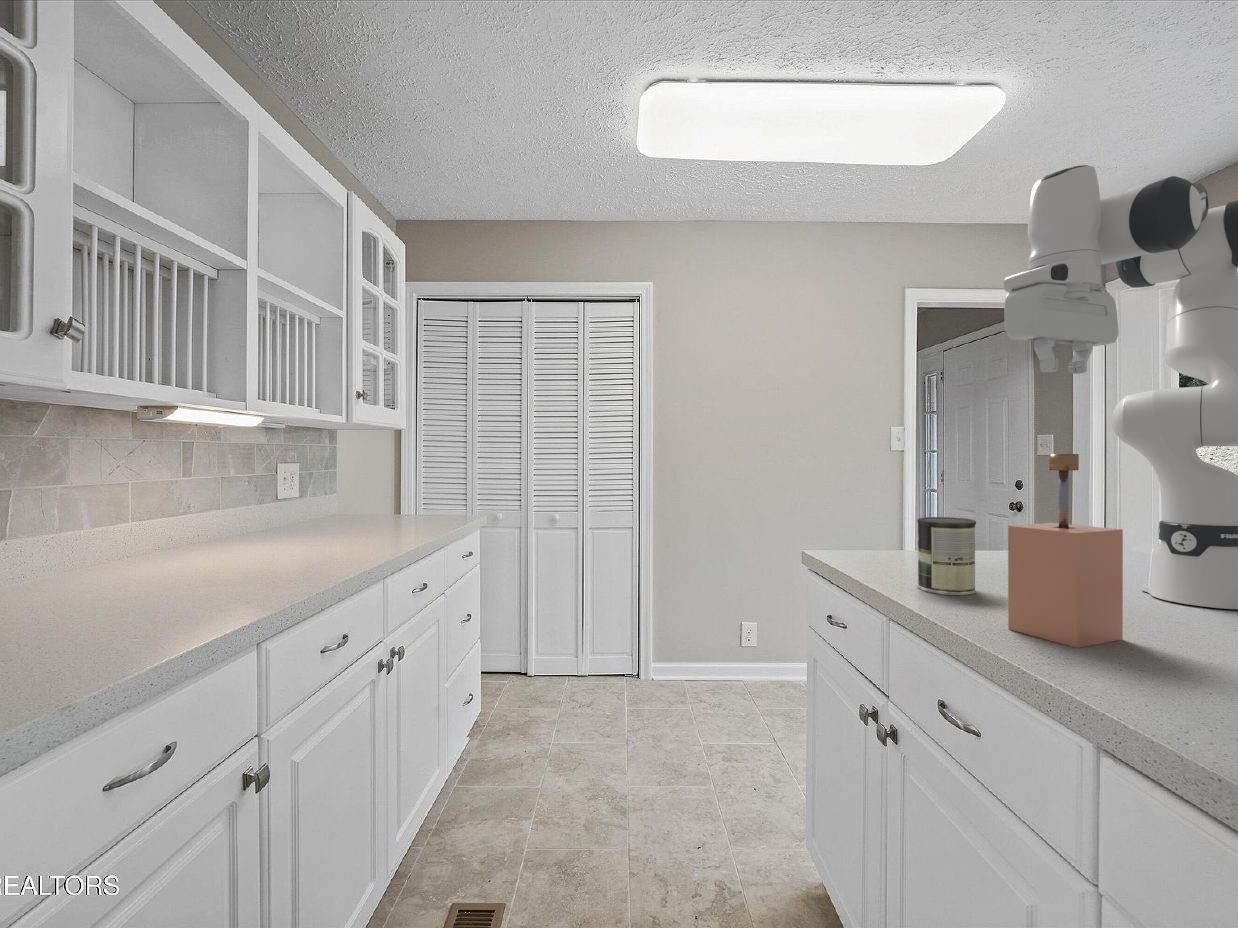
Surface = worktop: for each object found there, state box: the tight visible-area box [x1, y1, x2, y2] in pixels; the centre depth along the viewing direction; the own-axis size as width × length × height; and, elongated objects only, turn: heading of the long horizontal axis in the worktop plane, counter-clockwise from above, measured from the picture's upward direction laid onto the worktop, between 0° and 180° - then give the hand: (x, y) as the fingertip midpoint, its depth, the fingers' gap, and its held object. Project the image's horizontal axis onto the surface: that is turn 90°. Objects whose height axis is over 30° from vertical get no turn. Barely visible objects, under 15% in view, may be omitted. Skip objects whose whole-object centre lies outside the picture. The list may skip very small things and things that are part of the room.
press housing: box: [1007, 522, 1124, 649], centre depth 91 cm, size 10×10×16 cm
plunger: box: [1048, 453, 1080, 529], centre depth 91 cm, size 8×8×13 cm
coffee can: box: [916, 516, 977, 596], centre depth 122 cm, size 10×10×14 cm
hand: (1063, 372), depth 91 cm, fingers open, 5 cm apart
